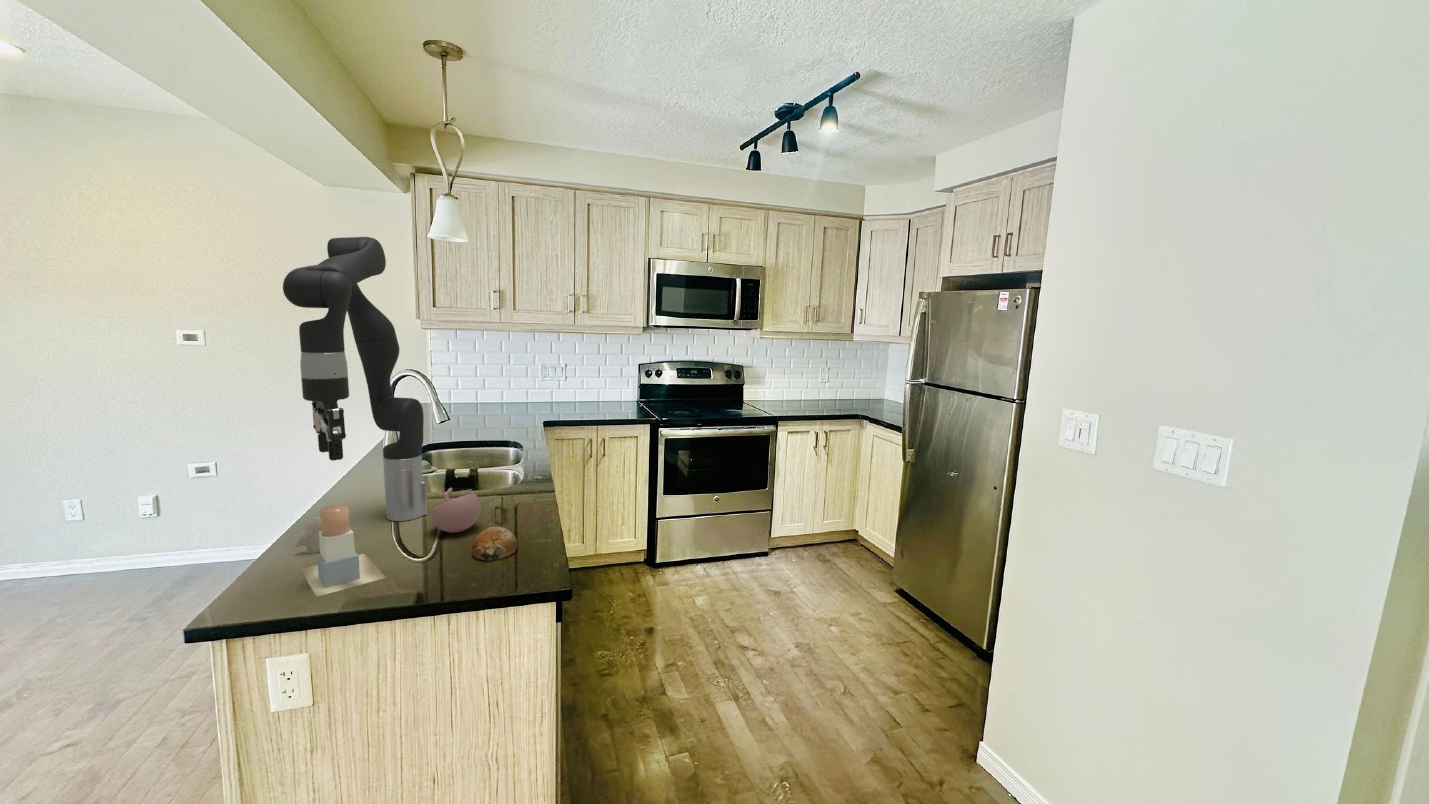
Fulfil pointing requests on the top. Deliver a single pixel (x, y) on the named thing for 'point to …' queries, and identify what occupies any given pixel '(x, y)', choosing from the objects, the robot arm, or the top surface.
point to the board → (366, 575)
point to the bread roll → (494, 544)
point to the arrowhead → (310, 536)
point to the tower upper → (337, 546)
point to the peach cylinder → (334, 520)
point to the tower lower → (338, 570)
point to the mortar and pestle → (456, 512)
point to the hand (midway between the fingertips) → (330, 455)
